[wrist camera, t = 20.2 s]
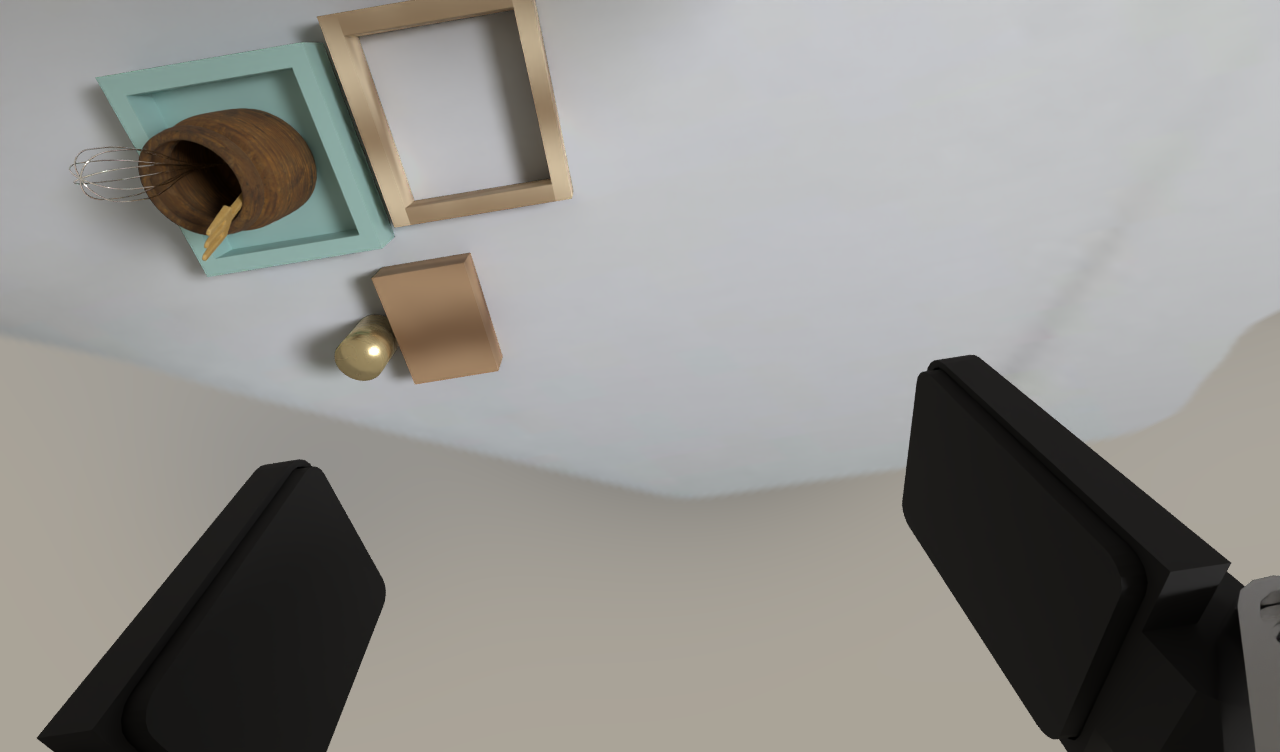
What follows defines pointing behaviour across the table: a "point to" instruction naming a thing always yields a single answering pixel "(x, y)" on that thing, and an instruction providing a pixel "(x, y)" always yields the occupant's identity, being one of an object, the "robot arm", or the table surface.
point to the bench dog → (367, 348)
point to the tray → (301, 97)
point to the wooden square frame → (341, 33)
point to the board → (439, 317)
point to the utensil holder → (223, 172)
